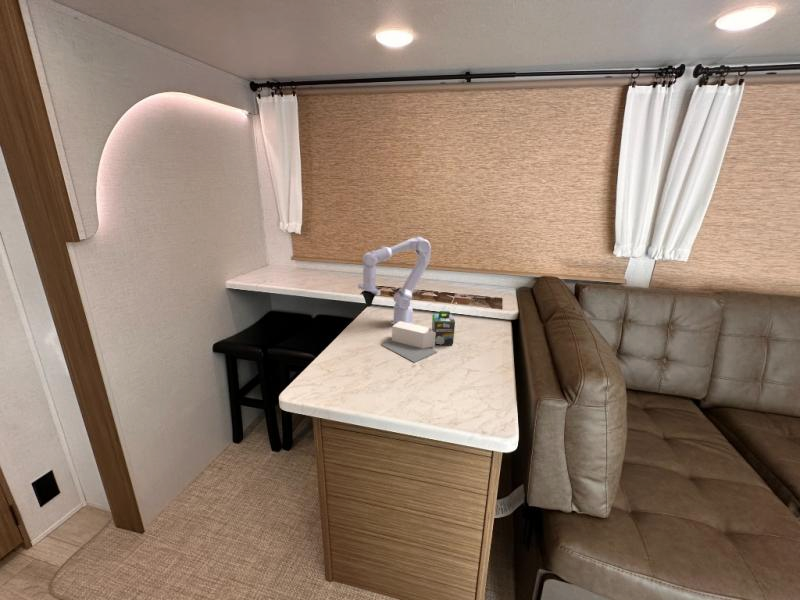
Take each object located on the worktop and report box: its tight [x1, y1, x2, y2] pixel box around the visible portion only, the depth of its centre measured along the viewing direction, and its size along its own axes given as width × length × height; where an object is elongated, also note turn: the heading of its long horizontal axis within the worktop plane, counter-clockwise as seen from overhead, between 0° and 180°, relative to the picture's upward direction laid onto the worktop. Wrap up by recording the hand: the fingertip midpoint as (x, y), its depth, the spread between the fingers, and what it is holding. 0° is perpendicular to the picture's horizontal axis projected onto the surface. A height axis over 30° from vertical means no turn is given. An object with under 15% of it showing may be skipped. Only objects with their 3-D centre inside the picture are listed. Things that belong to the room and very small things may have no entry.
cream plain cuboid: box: [391, 321, 436, 348], centre depth 154 cm, size 7×7×19 cm
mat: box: [381, 340, 438, 364], centre depth 150 cm, size 14×20×1 cm
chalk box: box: [431, 310, 456, 346], centre depth 157 cm, size 9×9×15 cm
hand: (368, 305), depth 169 cm, fingers closed
